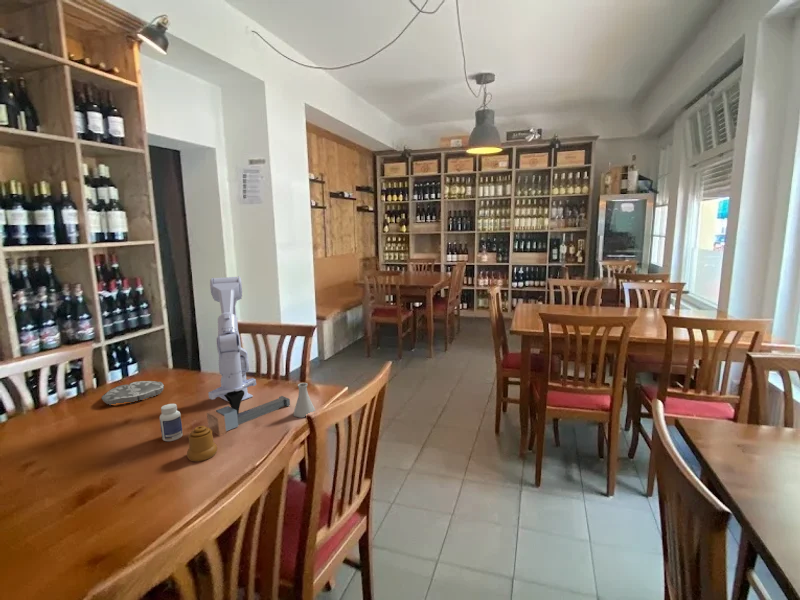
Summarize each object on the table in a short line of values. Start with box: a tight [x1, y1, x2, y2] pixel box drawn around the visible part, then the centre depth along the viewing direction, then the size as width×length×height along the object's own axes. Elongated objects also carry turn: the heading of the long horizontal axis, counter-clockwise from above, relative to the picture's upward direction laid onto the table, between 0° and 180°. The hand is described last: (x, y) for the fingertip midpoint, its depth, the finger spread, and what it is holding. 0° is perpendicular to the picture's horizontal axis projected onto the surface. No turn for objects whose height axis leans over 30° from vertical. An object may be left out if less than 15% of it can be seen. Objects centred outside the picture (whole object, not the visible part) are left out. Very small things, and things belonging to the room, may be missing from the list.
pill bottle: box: [159, 403, 184, 442], centre depth 123 cm, size 5×5×10 cm
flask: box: [293, 382, 316, 418], centre depth 137 cm, size 7×7×10 cm
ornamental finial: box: [186, 425, 218, 462], centre depth 113 cm, size 8×8×8 cm
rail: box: [206, 395, 291, 437], centre depth 135 cm, size 7×26×6 cm, turn 140°
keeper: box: [215, 405, 239, 432], centre depth 129 cm, size 5×4×5 cm
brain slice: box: [100, 380, 165, 406], centre depth 156 cm, size 20×17×3 cm
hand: (235, 413), depth 131 cm, fingers closed
